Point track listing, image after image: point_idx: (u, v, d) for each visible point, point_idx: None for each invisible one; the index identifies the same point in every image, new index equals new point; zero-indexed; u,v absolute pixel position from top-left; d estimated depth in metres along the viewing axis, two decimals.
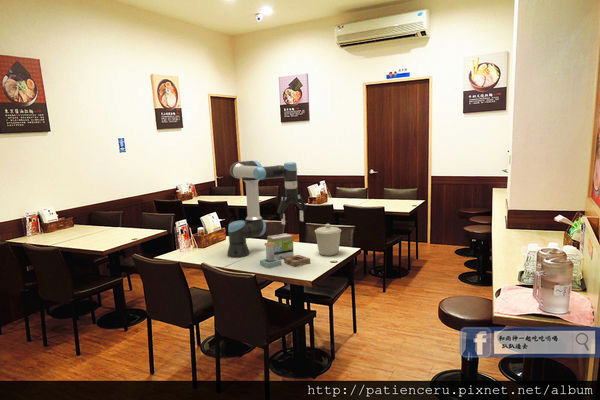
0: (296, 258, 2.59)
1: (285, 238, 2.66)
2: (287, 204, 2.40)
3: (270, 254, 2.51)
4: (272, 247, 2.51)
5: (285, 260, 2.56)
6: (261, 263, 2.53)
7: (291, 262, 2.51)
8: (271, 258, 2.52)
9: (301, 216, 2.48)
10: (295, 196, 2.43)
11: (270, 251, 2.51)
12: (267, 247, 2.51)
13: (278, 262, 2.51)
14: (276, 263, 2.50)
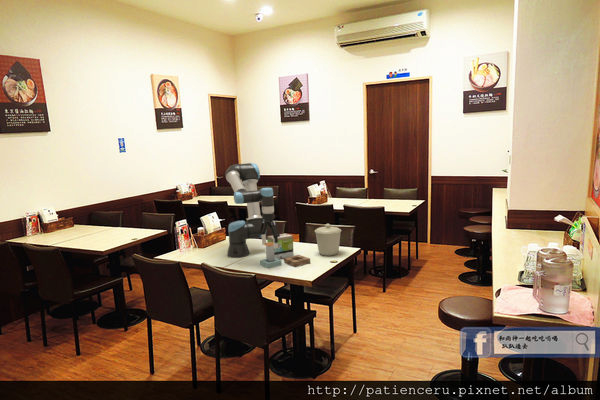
0: (296, 258, 2.59)
1: (285, 238, 2.66)
2: (263, 227, 2.53)
3: (270, 254, 2.51)
4: (272, 247, 2.51)
5: (285, 260, 2.56)
6: (261, 263, 2.53)
7: (291, 262, 2.51)
8: (271, 258, 2.52)
9: None
10: (268, 221, 2.47)
11: (270, 251, 2.51)
12: (267, 247, 2.51)
13: (278, 262, 2.51)
14: (276, 263, 2.50)
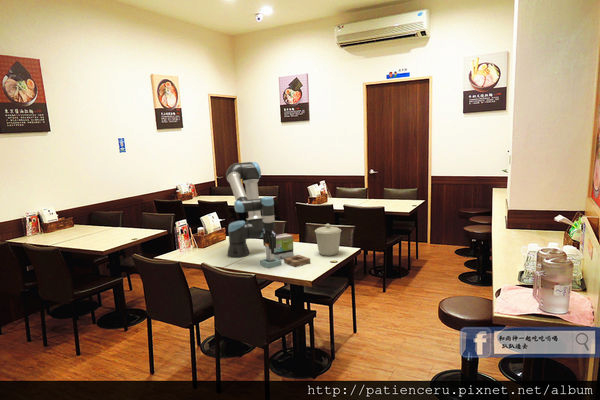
0: (296, 258, 2.59)
1: (285, 238, 2.66)
2: (265, 237, 2.52)
3: None
4: None
5: (285, 260, 2.56)
6: (261, 263, 2.53)
7: (291, 262, 2.51)
8: None
9: None
10: (269, 230, 2.48)
11: None
12: (267, 247, 2.51)
13: (278, 262, 2.51)
14: (276, 263, 2.50)
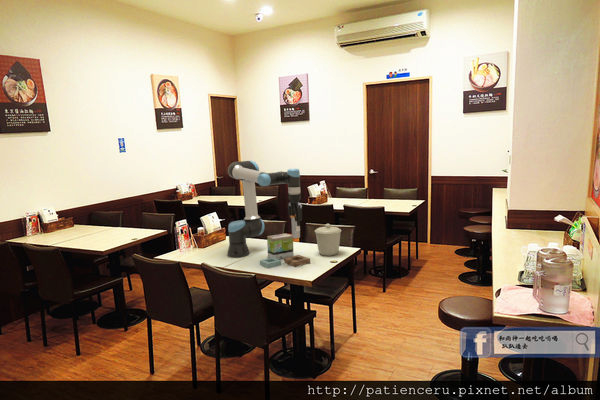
0: (296, 258, 2.59)
1: (285, 238, 2.66)
2: (291, 209, 2.52)
3: None
4: None
5: (285, 260, 2.56)
6: (261, 263, 2.53)
7: (291, 262, 2.51)
8: None
9: None
10: (295, 201, 2.48)
11: None
12: (293, 219, 2.51)
13: (278, 262, 2.51)
14: (276, 263, 2.50)
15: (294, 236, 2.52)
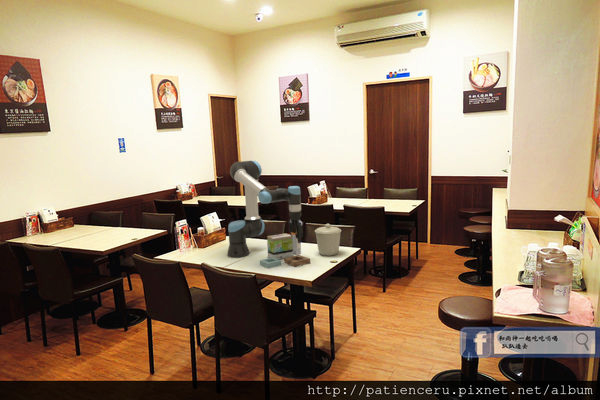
0: (296, 258, 2.59)
1: (285, 238, 2.66)
2: (292, 226, 2.54)
3: None
4: None
5: (285, 260, 2.56)
6: (261, 263, 2.53)
7: (291, 262, 2.51)
8: None
9: None
10: (296, 219, 2.49)
11: None
12: (294, 236, 2.52)
13: (278, 262, 2.51)
14: (276, 263, 2.50)
15: (295, 253, 2.53)
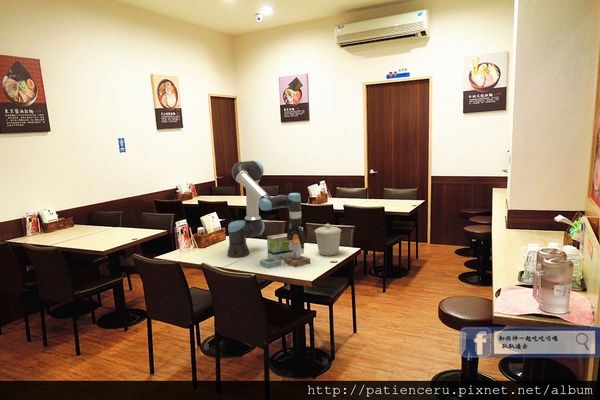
0: None
1: (285, 238, 2.66)
2: (291, 232, 2.56)
3: (297, 252, 2.53)
4: (299, 245, 2.54)
5: (285, 260, 2.56)
6: (261, 263, 2.53)
7: (291, 262, 2.51)
8: (298, 256, 2.54)
9: None
10: (296, 226, 2.50)
11: (297, 249, 2.53)
12: (294, 245, 2.53)
13: (278, 262, 2.51)
14: (276, 263, 2.50)
15: None
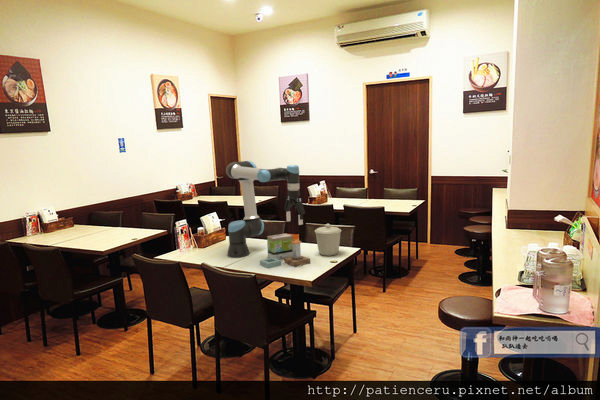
0: None
1: (285, 238, 2.66)
2: (288, 204, 2.56)
3: (297, 252, 2.53)
4: (299, 245, 2.54)
5: (285, 260, 2.56)
6: (261, 263, 2.53)
7: (291, 262, 2.51)
8: (298, 256, 2.54)
9: None
10: (294, 198, 2.51)
11: (297, 249, 2.53)
12: (294, 245, 2.53)
13: (278, 262, 2.51)
14: (276, 263, 2.50)
15: None
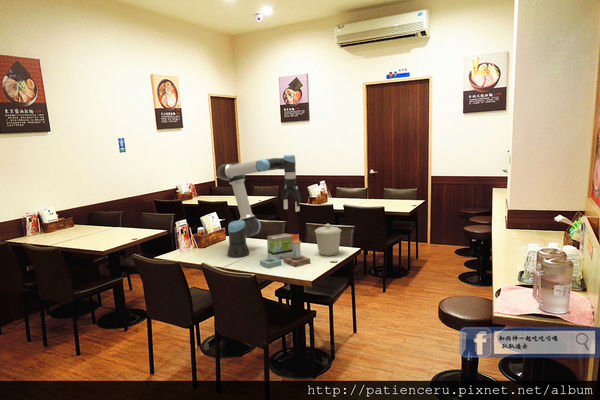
0: None
1: (285, 238, 2.66)
2: (285, 192, 2.68)
3: (297, 252, 2.53)
4: (299, 245, 2.54)
5: (285, 260, 2.56)
6: (261, 263, 2.53)
7: (291, 262, 2.51)
8: (298, 256, 2.54)
9: None
10: (291, 186, 2.62)
11: (297, 249, 2.53)
12: (294, 245, 2.53)
13: (278, 262, 2.51)
14: (276, 263, 2.50)
15: None
